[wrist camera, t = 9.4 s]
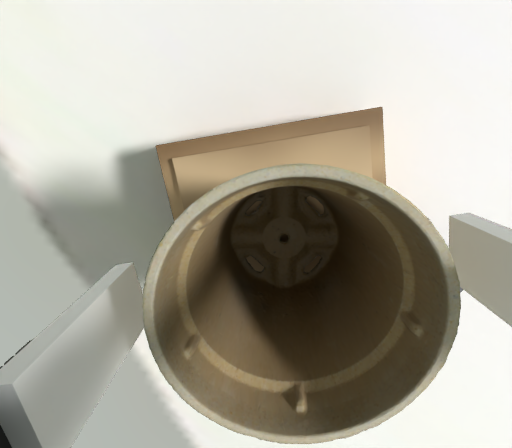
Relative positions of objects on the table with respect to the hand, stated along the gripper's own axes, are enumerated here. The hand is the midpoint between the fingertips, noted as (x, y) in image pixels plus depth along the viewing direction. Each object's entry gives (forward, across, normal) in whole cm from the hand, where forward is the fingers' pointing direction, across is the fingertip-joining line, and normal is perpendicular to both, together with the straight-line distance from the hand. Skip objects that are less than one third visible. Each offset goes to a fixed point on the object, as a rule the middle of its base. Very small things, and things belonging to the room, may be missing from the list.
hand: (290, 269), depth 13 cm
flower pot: (+5, 0, 0) cm, 5 cm away
